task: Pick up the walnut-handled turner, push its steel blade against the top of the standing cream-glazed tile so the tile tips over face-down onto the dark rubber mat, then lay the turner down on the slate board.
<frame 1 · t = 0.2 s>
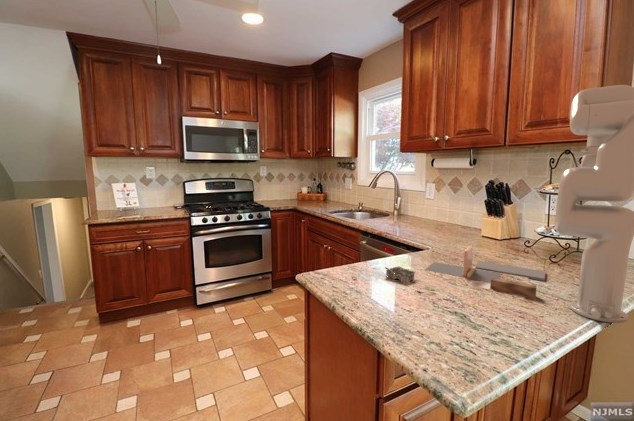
hand: (593, 195, 121), 31 cm above the counter, tool pointing down, fingers open, 9 cm apart
tile: (467, 272, 124), resting on tile mat
turner: (497, 289, 108), on the counter
tile mat: (461, 272, 125), on the counter
mottled grey block: (400, 278, 121), on the counter
slate board: (508, 271, 126), on the counter
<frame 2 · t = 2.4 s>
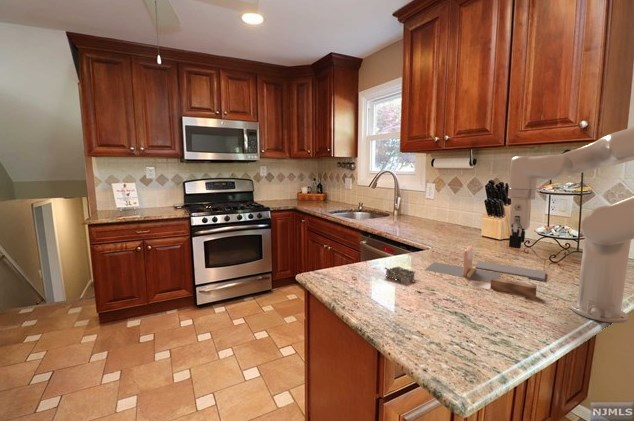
hand: (516, 244, 104), 17 cm above the counter, tool pointing down, fingers open, 9 cm apart
nothing on the counter moved.
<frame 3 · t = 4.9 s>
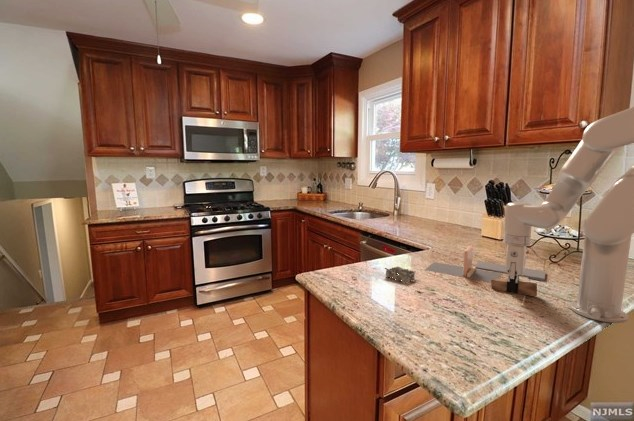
hand: (512, 291, 105), 0 cm above the counter, tool pointing down, fingers closed on turner, 2 cm apart
turner: (498, 289, 108), on the counter, touching gripper
everything else where it was.
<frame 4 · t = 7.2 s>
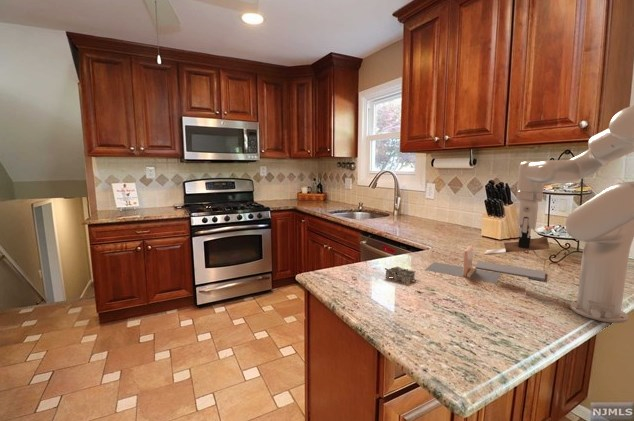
hand: (524, 246, 111), 14 cm above the counter, tool pointing down, fingers closed on turner, 2 cm apart
turner: (512, 251, 114), point 12 cm above the counter, tilted 15°, touching gripper
everything else where it was.
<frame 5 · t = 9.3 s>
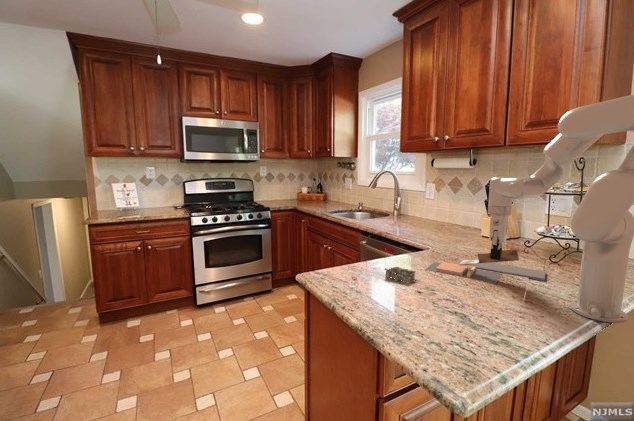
hand: (495, 257, 117), 8 cm above the counter, tool pointing down, fingers closed on turner, 2 cm apart
tile: (465, 270, 124), point 1 cm above the counter, tilted 90°, touching tile mat
turner: (485, 262, 120), point 6 cm above the counter, tilted 15°, touching gripper
everything else where it was.
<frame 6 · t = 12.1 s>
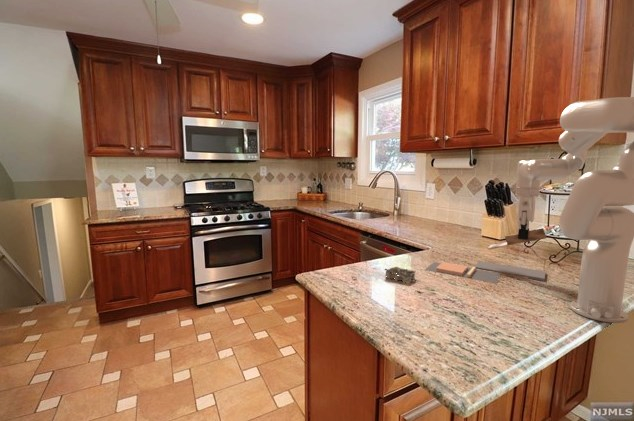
hand: (523, 238, 122), 15 cm above the counter, tool pointing down, fingers closed on turner, 2 cm apart
turner: (513, 243, 124), point 12 cm above the counter, tilted 20°, touching gripper
everything else where it was.
when the fingers open (2 cm above the counter, at t = 14.4 s): turner stays where it is, resting on slate board.
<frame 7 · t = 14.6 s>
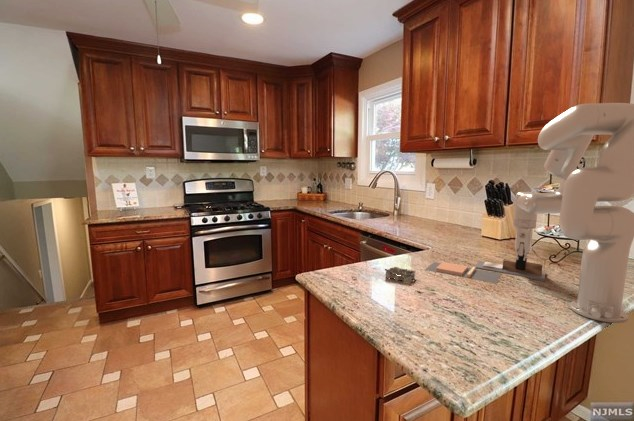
hand: (520, 267, 124), 2 cm above the counter, tool pointing down, fingers open, 3 cm apart
turner: (508, 268, 126), point 1 cm above the counter, touching slate board
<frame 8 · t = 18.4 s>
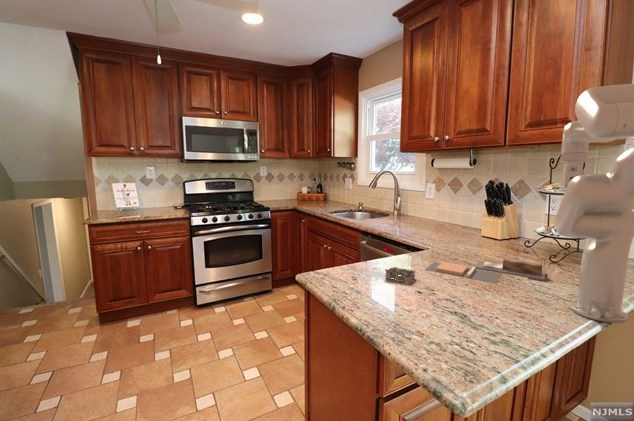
hand: (568, 204, 115), 28 cm above the counter, tool pointing down, fingers open, 9 cm apart
at the end: tile tilted 90°; tile inside the target area (1.2 cm from its centre), point 1.1 cm above the counter; turner inside the target area (0.4 cm from its centre), point 1.0 cm above the counter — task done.
